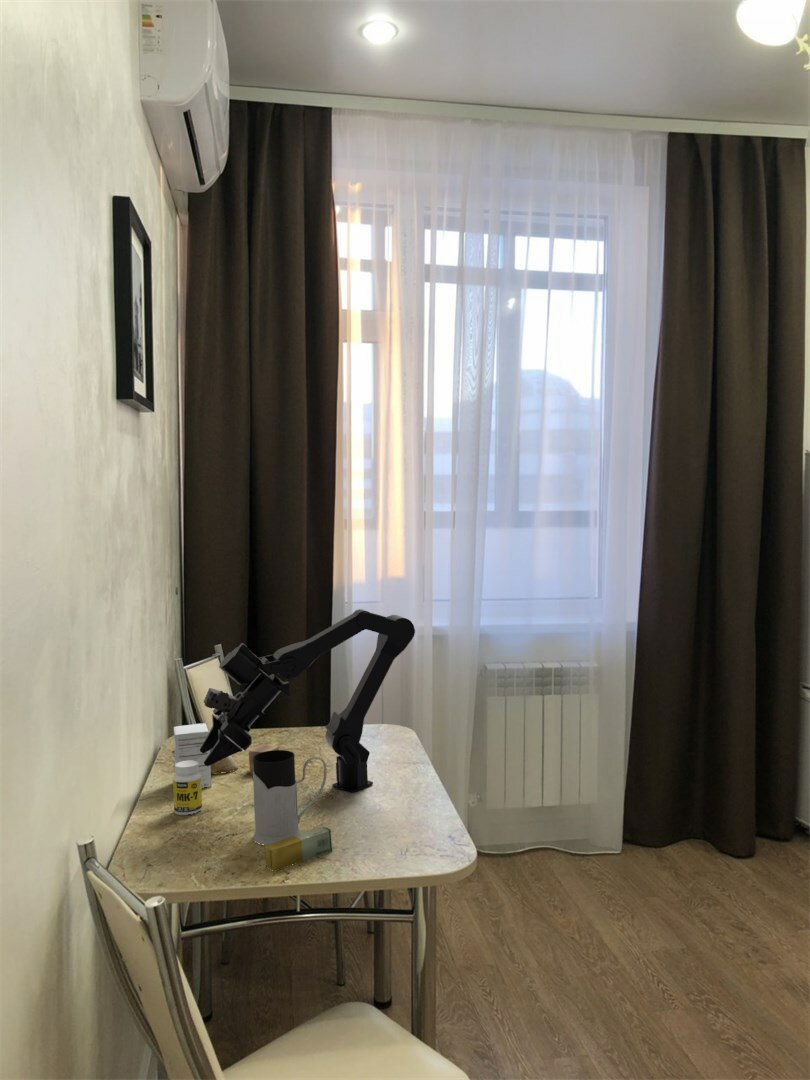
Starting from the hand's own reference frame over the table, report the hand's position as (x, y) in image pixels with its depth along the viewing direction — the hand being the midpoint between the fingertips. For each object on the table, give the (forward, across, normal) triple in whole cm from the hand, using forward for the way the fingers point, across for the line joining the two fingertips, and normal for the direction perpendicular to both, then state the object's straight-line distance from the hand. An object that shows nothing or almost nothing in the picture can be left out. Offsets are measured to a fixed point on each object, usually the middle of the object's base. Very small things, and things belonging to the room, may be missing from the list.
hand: (203, 758), depth 166 cm
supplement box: (+8, -16, +7) cm, 19 cm away
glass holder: (-2, +20, +17) cm, 27 cm away
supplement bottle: (+10, 0, +5) cm, 11 cm away
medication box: (-2, +32, +17) cm, 36 cm away
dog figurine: (+4, -23, +11) cm, 26 cm away
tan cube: (-4, -20, +18) cm, 27 cm away
